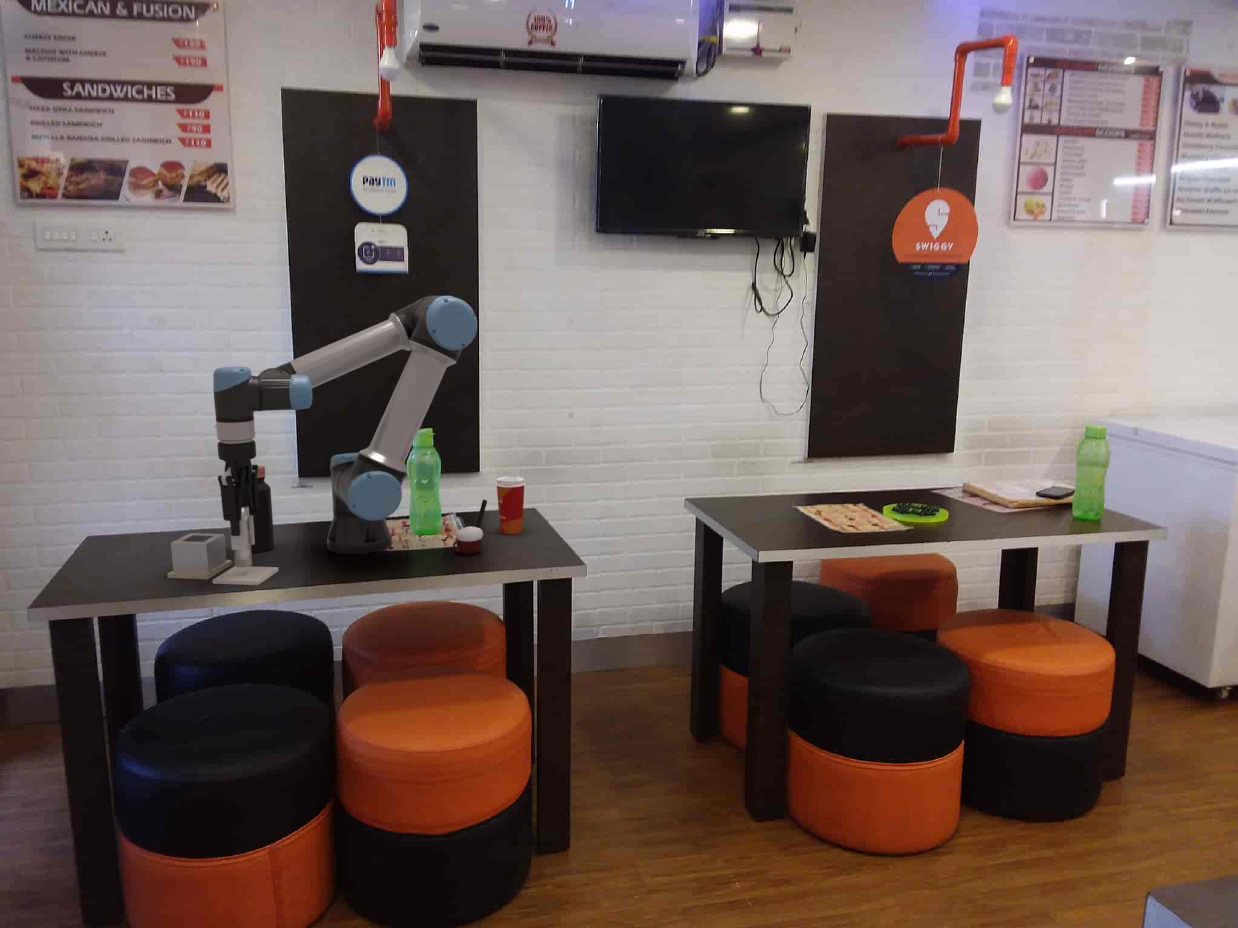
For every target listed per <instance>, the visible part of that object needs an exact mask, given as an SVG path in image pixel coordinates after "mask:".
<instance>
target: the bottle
mask: <svg viewBox="0 0 1238 928" xmlns="http://www.w3.org/2000/svg"><path fill="white" fill-rule="evenodd" d="M265 479H266V467H265V466H264V465H258V472H257V488H258V509H255V510H258V513H257V514H253V523H254V538H255V544H254V545H251V550H252V553H265V552H269V551H271V550H273V549H274V548H275V537H274V536H275V535H274V520H273V505H272V504H273V503H272V490H271V486H270V485H269V484H267V482H266V481H265Z"/></svg>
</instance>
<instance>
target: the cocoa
mask: <svg viewBox="0 0 1238 928" xmlns="http://www.w3.org/2000/svg"><path fill="white" fill-rule="evenodd" d="M487 503H488V499H487V500H486V499H482V501H481V505H480V509H479V512H478V517H477V520H476V523H475V526H466V527H464V528H462V529H459V530H458V531H456V534H455V541H454V542H453V544H452V547H453V549H454V551H456V552H458V553H460V554H463V555H468V556H469V555H475V554H477V553H478V552H480V551H481V549H482V546H483V539H484V538H483V536H484V532H483V529H481V527H482V523H483V518H484V515H485V512H486V508H487Z"/></svg>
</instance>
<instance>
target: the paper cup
mask: <svg viewBox="0 0 1238 928" xmlns="http://www.w3.org/2000/svg"><path fill="white" fill-rule="evenodd" d="M526 484H527V483H526V482H525V479H524V478H523V477H521V476H517V477H516V476H502V477H501V476H500V477H497V480H496V482H495V486H496V493H497V494H496V496H497V506H498V507H497V508H498V521H499V530H500V533H501V534H503V535H508V536H509V535H510V536H511V535H518V534H521V533H522V531H523V525H524V519H523V518H524V500H525V485H526Z"/></svg>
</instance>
